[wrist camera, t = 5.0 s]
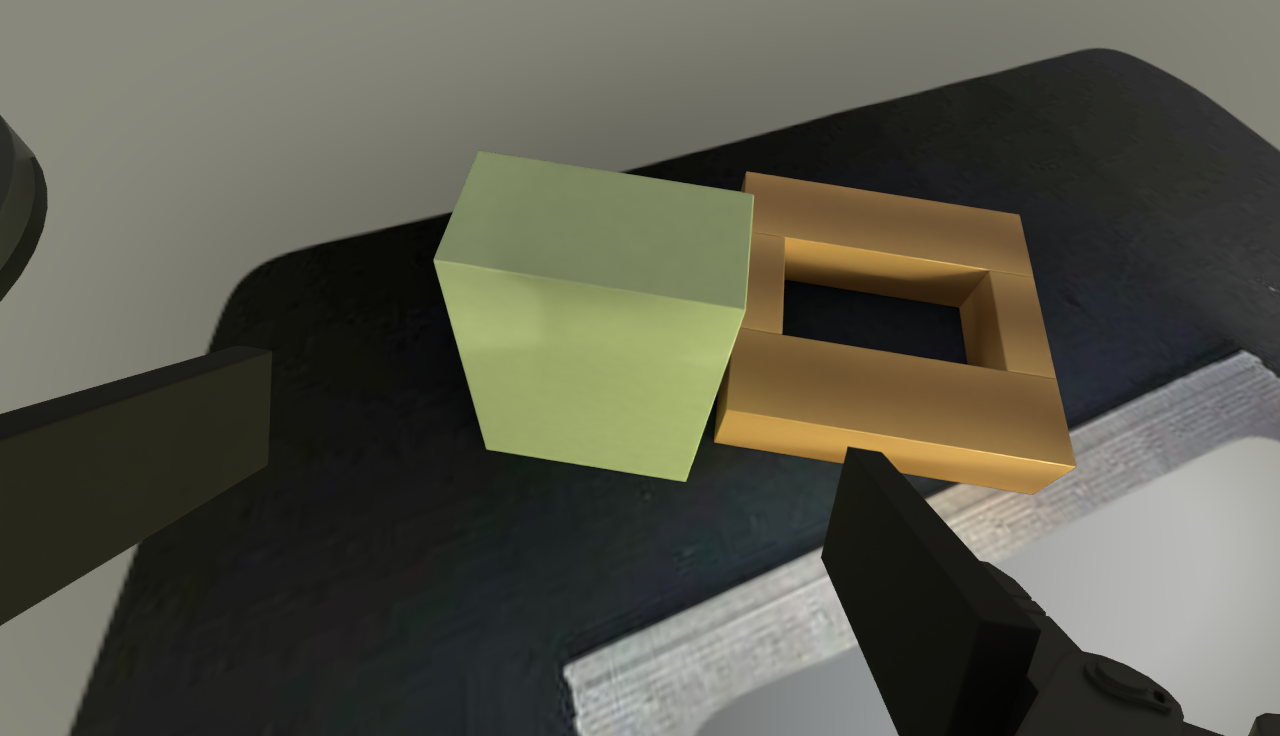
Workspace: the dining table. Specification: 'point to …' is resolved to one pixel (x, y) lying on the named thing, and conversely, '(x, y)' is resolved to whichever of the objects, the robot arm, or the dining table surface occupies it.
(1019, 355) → the mount block
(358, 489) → the dining table surface
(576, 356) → the pale green block
